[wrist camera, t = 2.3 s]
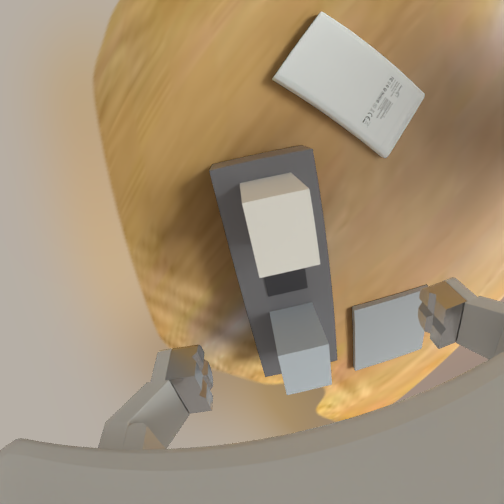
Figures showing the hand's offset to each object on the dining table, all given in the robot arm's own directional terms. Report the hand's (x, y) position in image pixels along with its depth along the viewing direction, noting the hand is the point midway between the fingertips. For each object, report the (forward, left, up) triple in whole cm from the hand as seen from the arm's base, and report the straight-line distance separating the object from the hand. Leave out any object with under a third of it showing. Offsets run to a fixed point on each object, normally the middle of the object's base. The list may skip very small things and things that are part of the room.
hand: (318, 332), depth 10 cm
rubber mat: (-12, +19, -19) cm, 29 cm away
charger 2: (0, +12, -15) cm, 19 cm away
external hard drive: (-10, -9, -19) cm, 24 cm away
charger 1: (0, 0, -17) cm, 17 cm away
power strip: (0, +7, -19) cm, 20 cm away
